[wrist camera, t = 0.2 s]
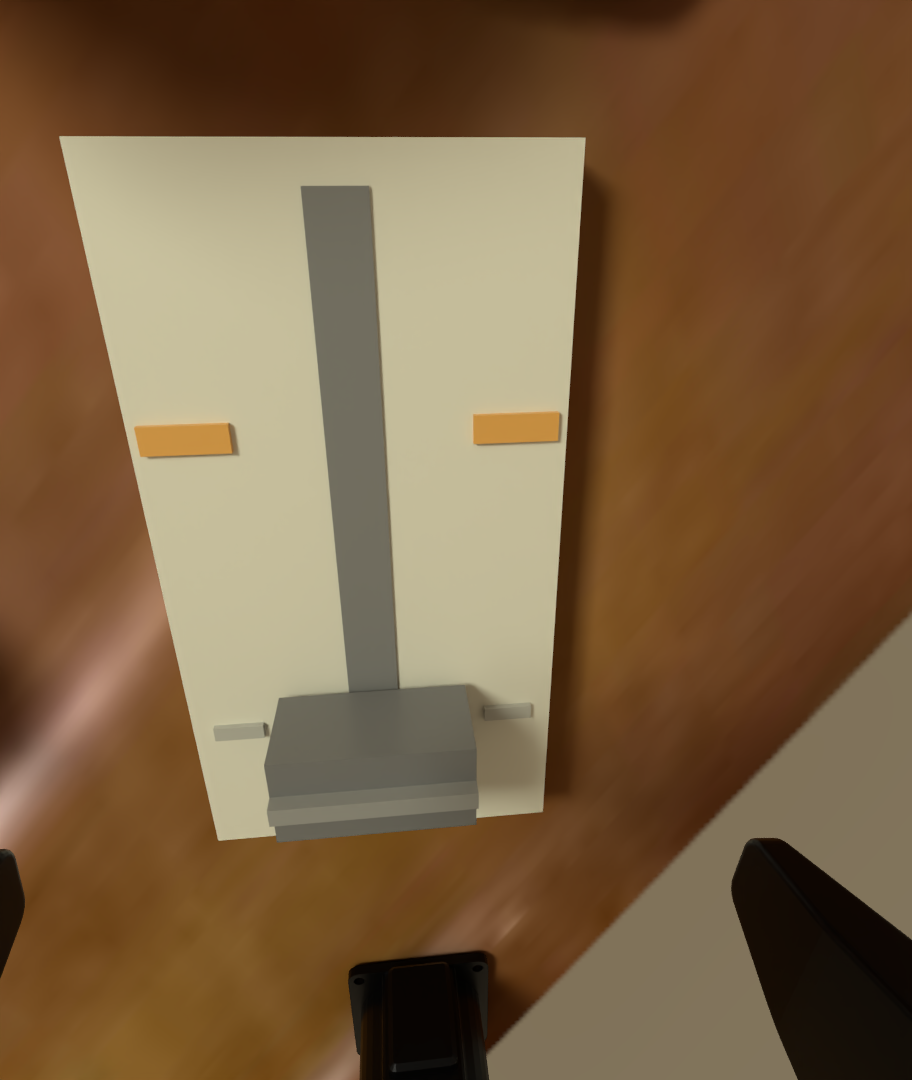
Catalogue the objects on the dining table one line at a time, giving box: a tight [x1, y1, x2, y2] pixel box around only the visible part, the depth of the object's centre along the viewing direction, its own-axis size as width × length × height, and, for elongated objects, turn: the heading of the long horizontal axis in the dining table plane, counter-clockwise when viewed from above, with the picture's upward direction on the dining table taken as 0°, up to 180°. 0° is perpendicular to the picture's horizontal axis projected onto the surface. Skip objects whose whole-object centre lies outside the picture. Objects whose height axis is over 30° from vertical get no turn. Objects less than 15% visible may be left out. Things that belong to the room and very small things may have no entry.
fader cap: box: [264, 685, 479, 842], centre depth 21 cm, size 3×6×4 cm, turn 90°
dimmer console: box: [59, 136, 586, 841], centre depth 21 cm, size 22×12×2 cm, turn 0°
